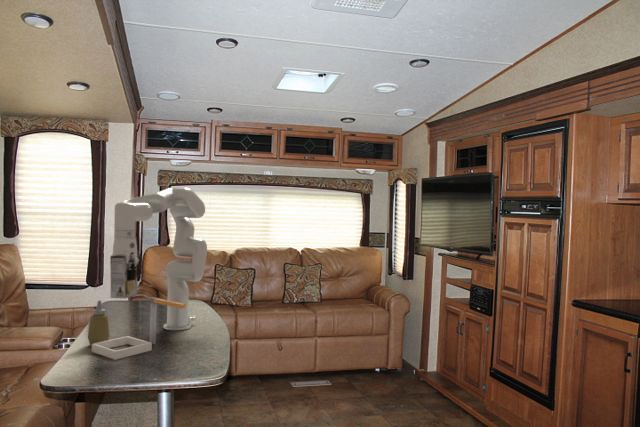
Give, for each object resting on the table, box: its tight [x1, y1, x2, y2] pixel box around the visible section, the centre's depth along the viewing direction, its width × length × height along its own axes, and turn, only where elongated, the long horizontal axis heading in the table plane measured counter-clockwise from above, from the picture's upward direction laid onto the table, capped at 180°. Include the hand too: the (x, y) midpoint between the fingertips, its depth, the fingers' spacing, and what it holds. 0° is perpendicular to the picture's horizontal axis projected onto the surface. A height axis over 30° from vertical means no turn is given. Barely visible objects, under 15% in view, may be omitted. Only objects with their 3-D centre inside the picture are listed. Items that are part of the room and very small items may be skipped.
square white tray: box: [91, 302, 158, 361], centre depth 194 cm, size 23×16×17 cm
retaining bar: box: [148, 296, 186, 309], centre depth 197 cm, size 21×3×2 cm, turn 54°
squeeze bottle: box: [87, 300, 110, 347], centre depth 198 cm, size 8×8×18 cm
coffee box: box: [109, 255, 138, 299], centre depth 191 cm, size 9×6×16 cm
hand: (124, 278), depth 191 cm, fingers closed on coffee box, 8 cm apart
